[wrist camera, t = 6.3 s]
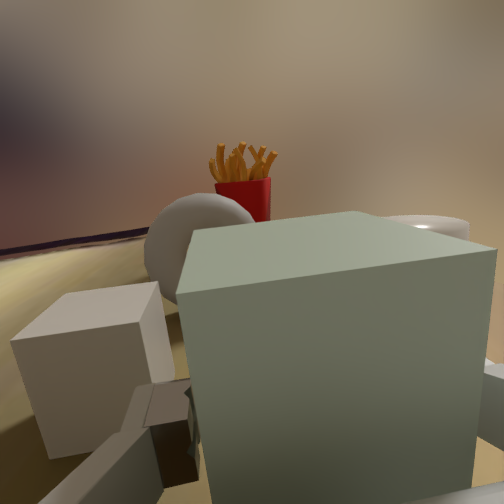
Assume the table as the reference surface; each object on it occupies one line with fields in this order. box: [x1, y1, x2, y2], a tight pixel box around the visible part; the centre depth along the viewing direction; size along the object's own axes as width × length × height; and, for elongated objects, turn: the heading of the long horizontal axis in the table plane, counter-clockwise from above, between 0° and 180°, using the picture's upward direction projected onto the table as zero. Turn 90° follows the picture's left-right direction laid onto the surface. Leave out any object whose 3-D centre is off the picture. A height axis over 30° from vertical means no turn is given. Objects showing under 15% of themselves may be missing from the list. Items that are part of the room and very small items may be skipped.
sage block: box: [176, 211, 497, 504], centre depth 8 cm, size 5×5×10 cm
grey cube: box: [10, 281, 175, 460], centre depth 16 cm, size 5×5×6 cm
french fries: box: [209, 142, 278, 223], centre depth 44 cm, size 9×8×15 cm
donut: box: [144, 193, 255, 305], centre depth 26 cm, size 10×4×10 cm, turn 109°
